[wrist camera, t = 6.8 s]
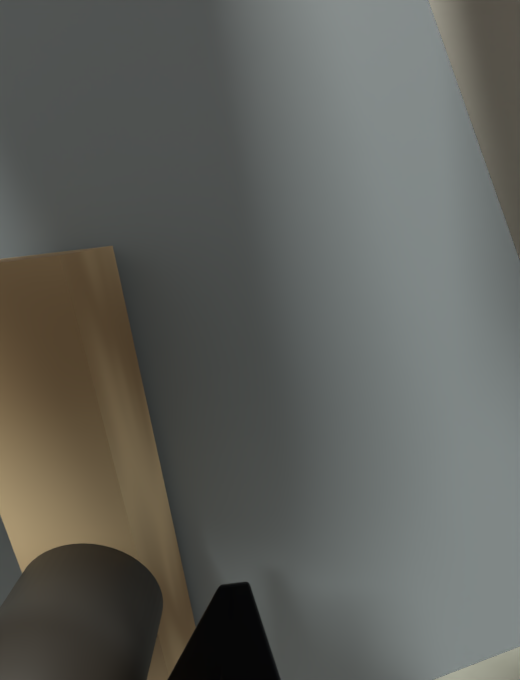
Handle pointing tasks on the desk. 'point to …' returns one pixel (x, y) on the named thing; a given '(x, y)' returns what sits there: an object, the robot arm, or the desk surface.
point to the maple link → (82, 482)
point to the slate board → (293, 306)
